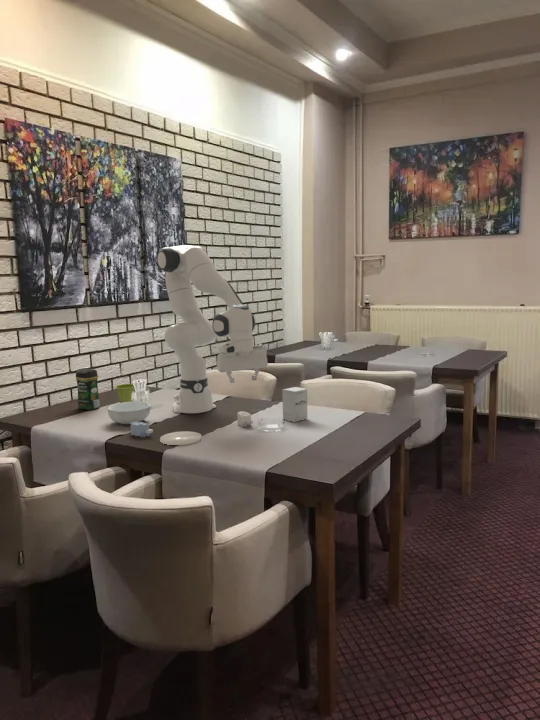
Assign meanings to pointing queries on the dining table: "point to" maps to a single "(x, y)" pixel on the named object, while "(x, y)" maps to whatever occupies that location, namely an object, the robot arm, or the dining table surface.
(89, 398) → the coffee jar
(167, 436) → the saucer
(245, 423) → the grey connector
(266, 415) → the dining table surface
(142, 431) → the blue connector
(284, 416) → the supplement box
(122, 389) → the plant pot
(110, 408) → the cereal bowl
